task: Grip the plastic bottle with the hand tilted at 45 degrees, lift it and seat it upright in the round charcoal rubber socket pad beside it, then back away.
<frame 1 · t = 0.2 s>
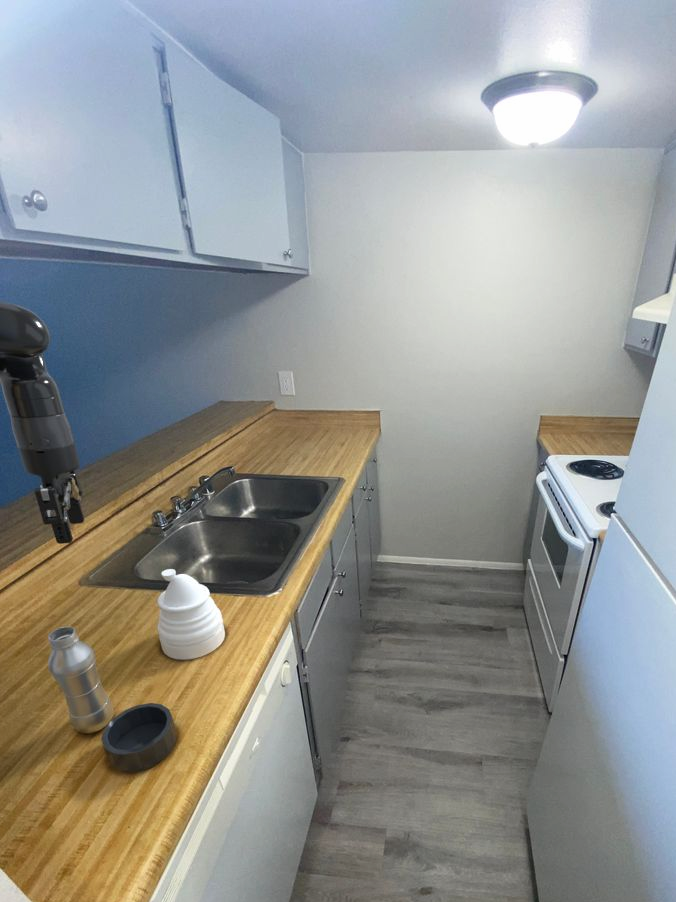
hand: (71, 532, 83), 30 cm above the worktop, tool pointing down, fingers open, 8 cm apart
socket: (143, 745, 80), on the worktop
honey pot: (194, 640, 104), on the worktop
plastic bottle: (96, 723, 83), on the worktop
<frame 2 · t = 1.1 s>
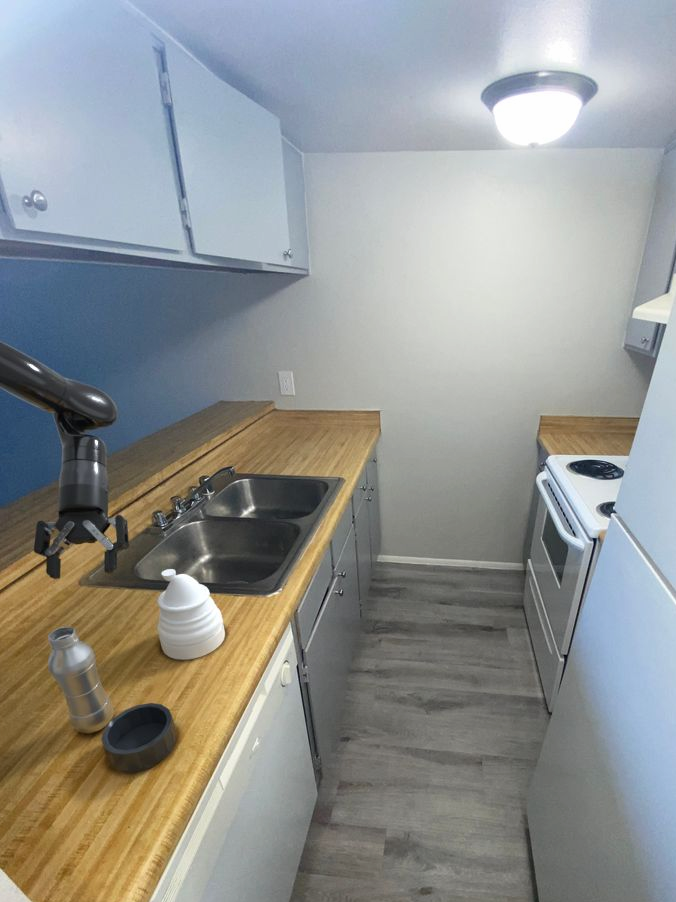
hand: (82, 575, 83), 23 cm above the worktop, tool tilted 45°, fingers open, 8 cm apart
nothing on the worktop moved.
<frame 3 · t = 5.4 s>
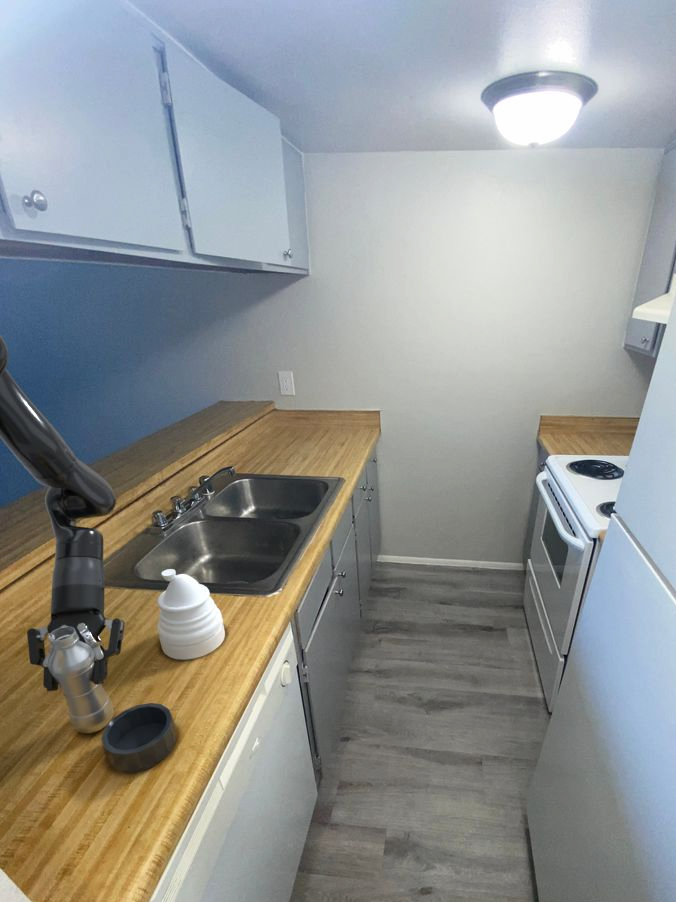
hand: (76, 686, 77), 10 cm above the worktop, tool tilted 45°, fingers closed on plastic bottle, 6 cm apart
plastic bottle: (96, 723, 83), on the worktop, touching gripper
everything else where it was.
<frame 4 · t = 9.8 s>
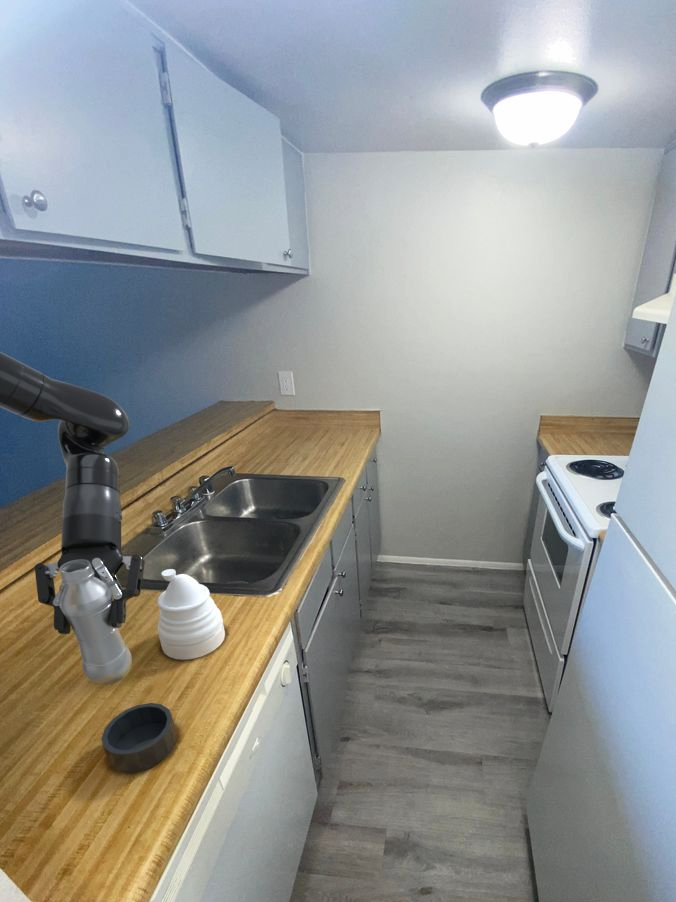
hand: (90, 629, 67), 25 cm above the worktop, tool tilted 45°, fingers closed on plastic bottle, 6 cm apart
plastic bottle: (112, 676, 74), point 15 cm above the worktop, touching gripper
everything else where it was.
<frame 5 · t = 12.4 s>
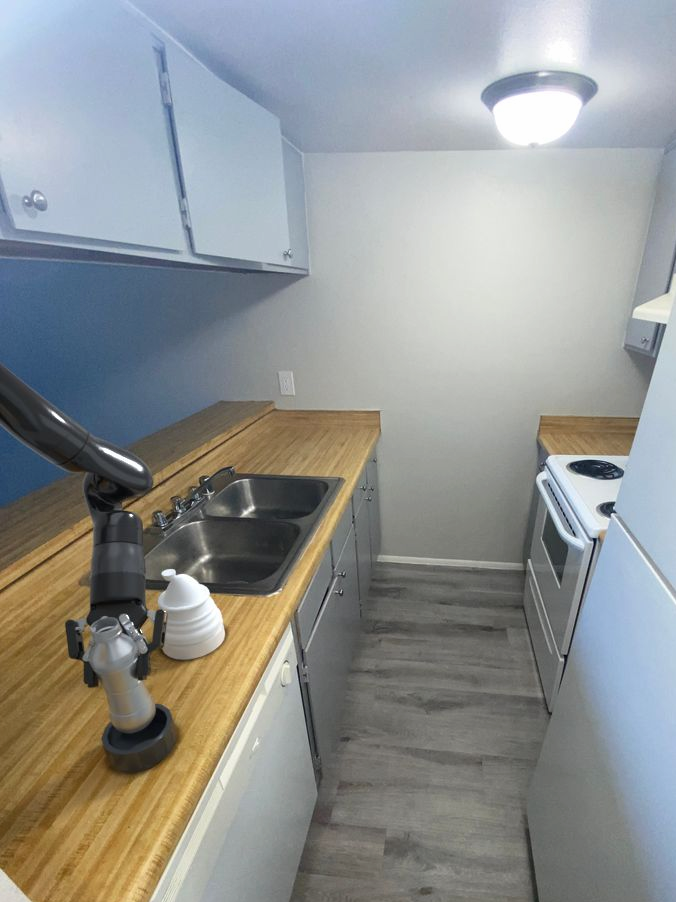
hand: (118, 683, 71), 16 cm above the worktop, tool tilted 45°, fingers closed on plastic bottle, 6 cm apart
plastic bottle: (136, 722, 77), point 5 cm above the worktop, touching gripper
everything else where it was.
when the fingers open (11 cm above the worktop, at t = 14.4 s): plastic bottle stays where it is, resting on socket.
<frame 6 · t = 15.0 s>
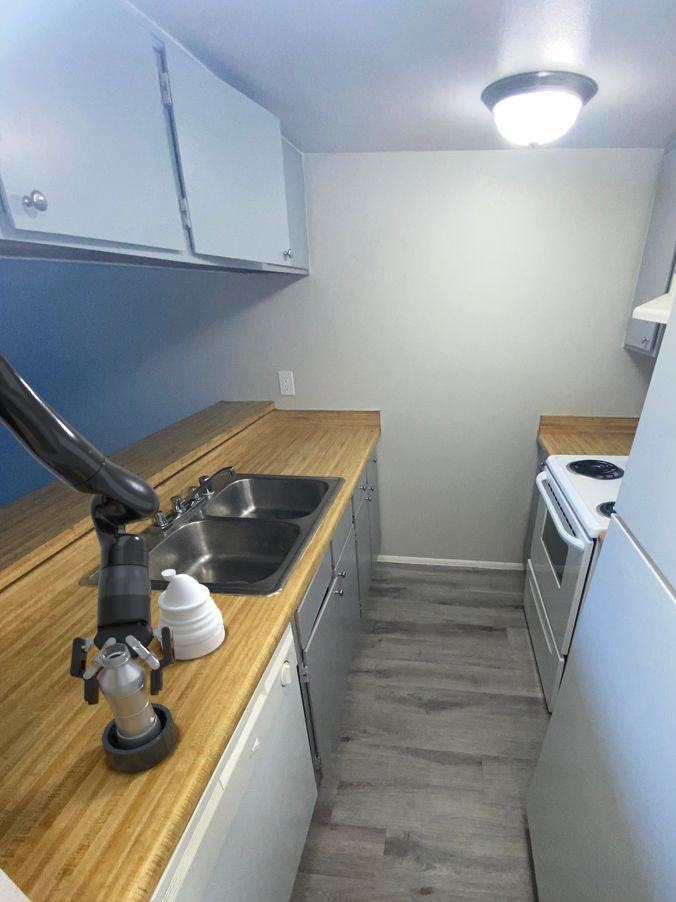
hand: (124, 699, 73), 12 cm above the worktop, tool tilted 45°, fingers open, 8 cm apart
plastic bottle: (143, 743, 80), resting on socket
everything else where it was.
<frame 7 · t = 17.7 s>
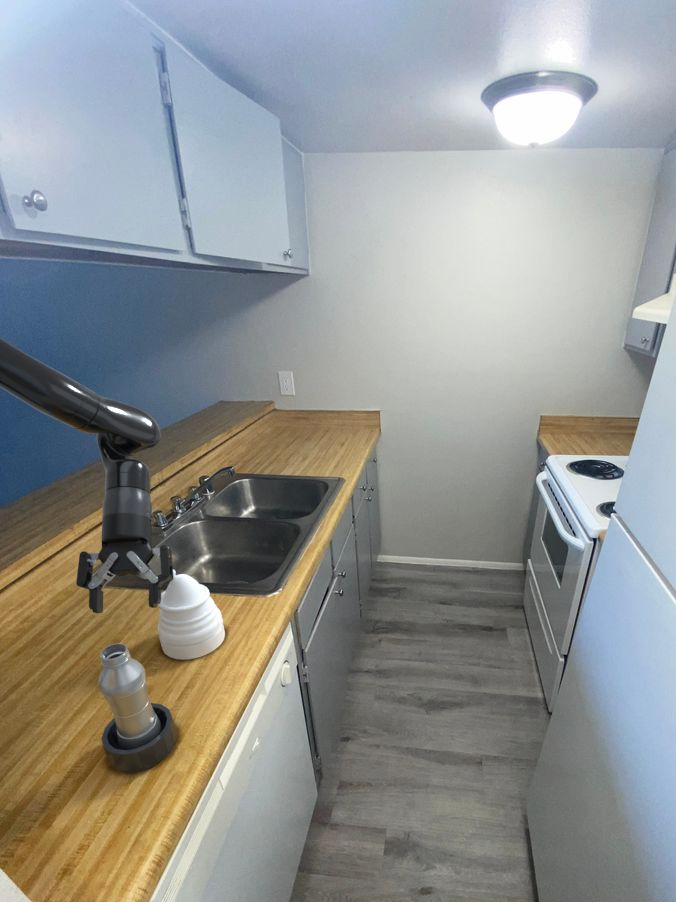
hand: (125, 609, 79), 21 cm above the worktop, tool tilted 45°, fingers open, 8 cm apart
nothing on the worktop moved.
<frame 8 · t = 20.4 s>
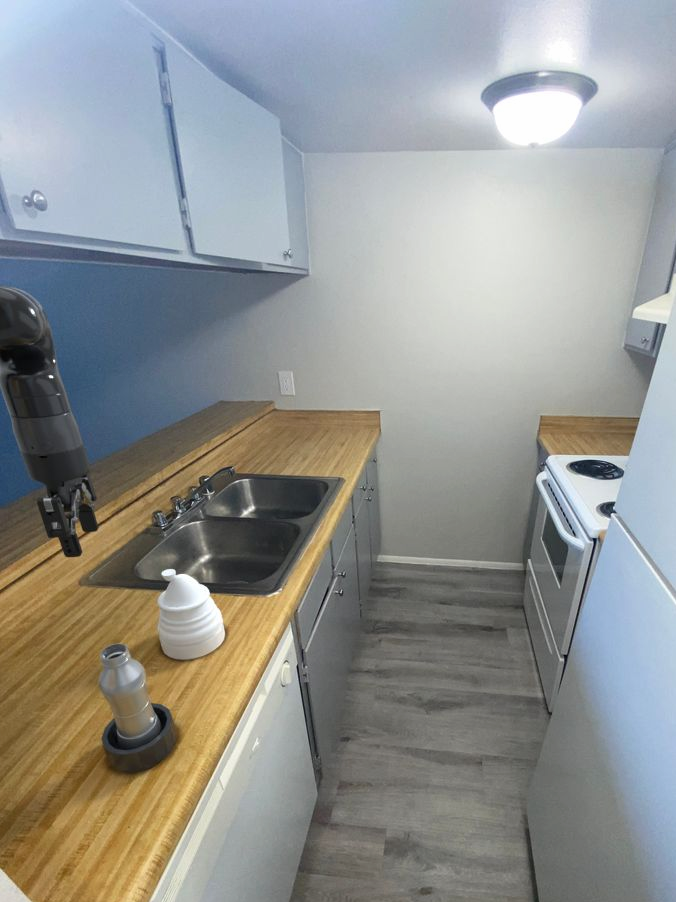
hand: (83, 543, 75), 32 cm above the worktop, tool pointing down, fingers open, 8 cm apart
nothing on the worktop moved.
at the end: plastic bottle 0.2 cm off-centre in the socket, point 0.3 cm above the socket's base; plastic bottle tilted 0°; the gripper is holding nothing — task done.
